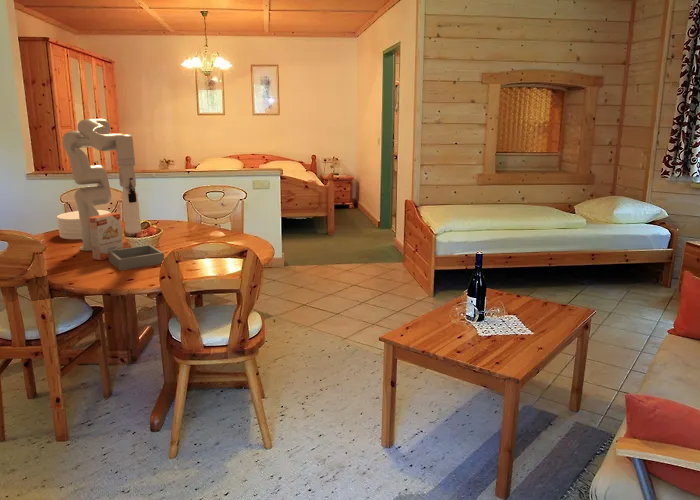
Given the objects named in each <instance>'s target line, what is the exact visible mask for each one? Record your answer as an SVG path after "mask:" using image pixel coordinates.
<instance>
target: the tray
mask: <svg viewBox="0 0 700 500" xmlns="http://www.w3.org/2000/svg"><path fill="white" fill-rule="evenodd" d="M108 256H109V258H108V261H109V263H111V264H112V265H113V266H115V267H116V268H117V269H118V270H119V271H125V270H132V269H136V268H137V269H138V268H144V267H149V266H157V265H161V263H162V261H163V260H164V261H165V254H164V252H163V251H161V250H160V249H158V248H156V247H155V246H153V245H151V244H146V245H138V246H133V247H125V248H124V247H123V249H117V250H111V251H108ZM162 264H163V263H162Z"/></svg>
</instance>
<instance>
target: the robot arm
mask: <svg viewBox="0 0 700 500" xmlns="http://www.w3.org/2000/svg"><path fill="white" fill-rule="evenodd" d="M76 128H77V130H70V131H66V132H65V133H64V134H63V135H62V146H63V147H64V151H65V152H66V155H67V156H68V159H69V164H70V168H71V172H72V176H73V177H72V178H73V180H74V183H75V184H76V185H77V186H88V185H95V186H89V187H82V188H79V189H77V190H75V192H74V200H75V203H76V207H77V211H78V212H79V219H80V226H81V234H82V239H81V240H82V245H81V246H79V250H81V251H83V252H84V251H85V252H92V244H91V235H90V226H89V217H93V216H98V215H99V213H98V211H97V210H98V209H96V208H95V206H100V205H107V204H110V203H111V201H112V191H111V187H110V181H109V177H108V173H107V171H106V168H105V167H104V166H103V165H100V164H93V165H92V164H91V165H90V161H89V157H88V155H87V154H86V153H85V152H84V151H83V149H81V148H93V149H96V150H97V151H101V152H110V151H115V152H116V153H115V154H116V163H117V167H118V177H119V186H120V187H121V188H122V190H123V189H124V188H128V192H129V194H128V197H129V202H130V203H132V202H136V192H137V191H136V192H135V190H136V187H137V181H136V173H135V172H136V171H135V168H134V166H136V159H135V149H134V148H135V147H134V139H133V136H132V135H131V134H124V133H111V125H110V123H109V122H108V121H107V120H106V119H104V118H85V119H81V120H80V121H79V122H78V123H77V127H76ZM129 186H131V187H129Z"/></svg>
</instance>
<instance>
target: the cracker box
mask: <svg viewBox="0 0 700 500" xmlns="http://www.w3.org/2000/svg"><path fill="white" fill-rule="evenodd" d="M89 226H90V235H91V244H92V251H91V252H92V259H93V260H96V261H104V260H107V259H108V260H109V256H108V251H111V250H117V249H124V244H123V234H122V233H123V232H122V222H121V213H119V212H118V213H117V212H110V213H109V214H104V215H98V216H93V217H89Z"/></svg>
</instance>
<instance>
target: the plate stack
mask: <svg viewBox="0 0 700 500" xmlns="http://www.w3.org/2000/svg"><path fill="white" fill-rule="evenodd" d="M96 210H97V211H98V213H99V215H104V214H109V213H111V211H108V210H106V209H105V210H104V209H96ZM56 219H57V224H58V225H57V227H58V233H59V238H61V239H66V240H82V234H81V226H80V219H79V212H78V210H76V211H75V210H74V211H68V212H63V213H61V214H58V215H57V216H56Z"/></svg>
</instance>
